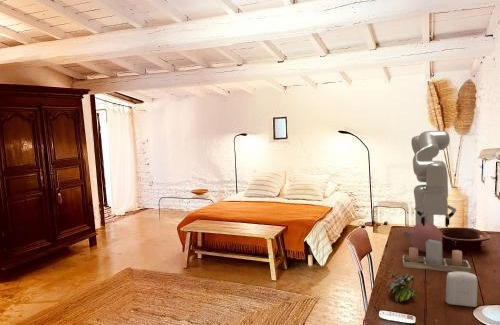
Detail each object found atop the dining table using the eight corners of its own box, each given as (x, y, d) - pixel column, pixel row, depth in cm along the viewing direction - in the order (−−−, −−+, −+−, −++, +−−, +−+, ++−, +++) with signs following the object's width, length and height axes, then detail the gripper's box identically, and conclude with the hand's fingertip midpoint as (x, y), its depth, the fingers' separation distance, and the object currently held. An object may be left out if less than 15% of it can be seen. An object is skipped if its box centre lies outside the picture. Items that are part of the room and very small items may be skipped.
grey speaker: (475, 302, 142) (475, 270, 141) (478, 308, 138) (479, 275, 136) (445, 300, 145) (445, 268, 144) (447, 305, 141) (447, 273, 140)
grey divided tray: (402, 260, 187) (402, 244, 186) (467, 265, 177) (467, 248, 176) (402, 267, 178) (402, 250, 178) (470, 273, 168) (470, 255, 167)
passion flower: (394, 306, 152) (395, 276, 158) (423, 308, 146) (422, 277, 151) (384, 300, 145) (384, 269, 151) (413, 301, 138) (413, 269, 144)
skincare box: (443, 266, 177) (443, 241, 176) (438, 269, 174) (438, 243, 173) (429, 263, 182) (429, 238, 181) (425, 265, 179) (425, 240, 178)
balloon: (400, 245, 210) (400, 217, 208) (440, 247, 202) (440, 219, 201) (400, 254, 195) (400, 225, 194) (443, 257, 188) (443, 227, 187)
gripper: (415, 190, 174) (415, 227, 176) (457, 191, 167) (457, 229, 169) (414, 187, 181) (414, 222, 183) (455, 188, 174) (454, 224, 176)
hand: (435, 225), depth 176 cm, fingers open, 9 cm apart
